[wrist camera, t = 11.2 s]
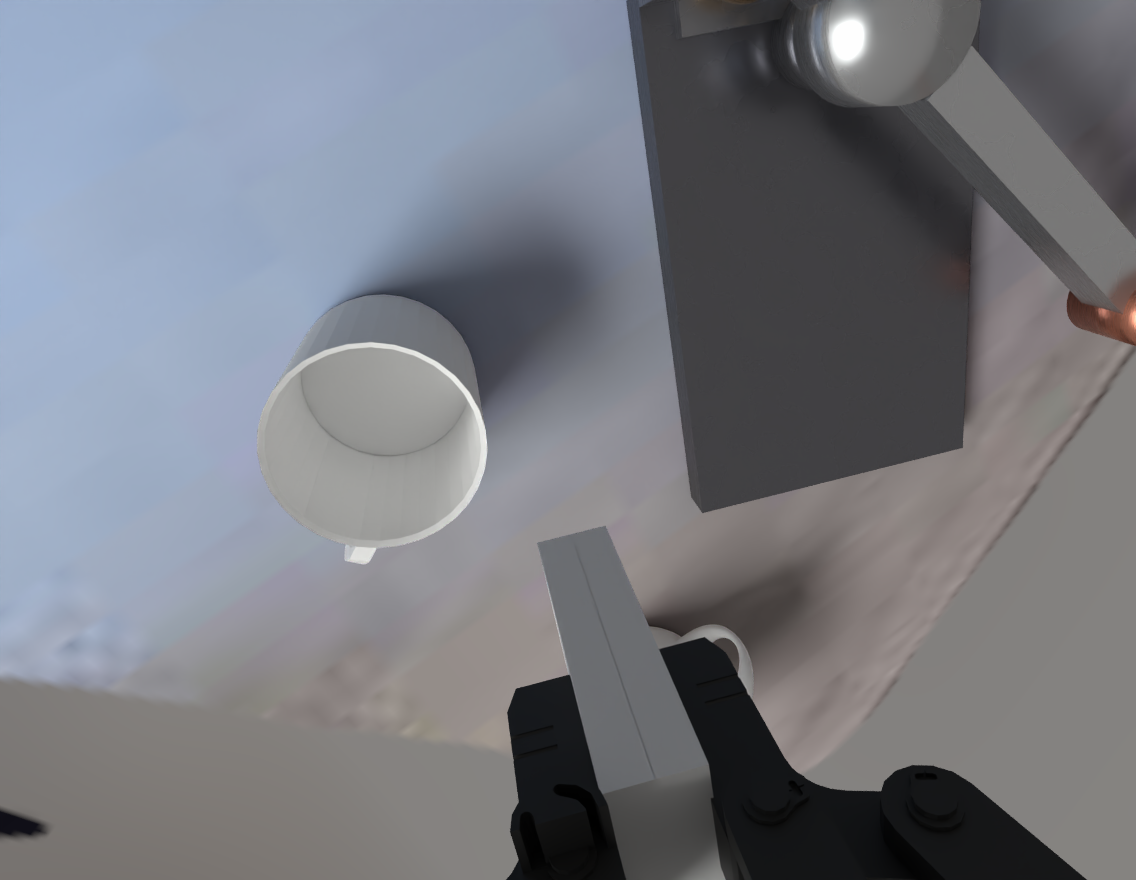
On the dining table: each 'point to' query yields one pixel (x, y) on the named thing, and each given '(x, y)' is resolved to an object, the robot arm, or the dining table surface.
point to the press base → (796, 259)
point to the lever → (975, 137)
